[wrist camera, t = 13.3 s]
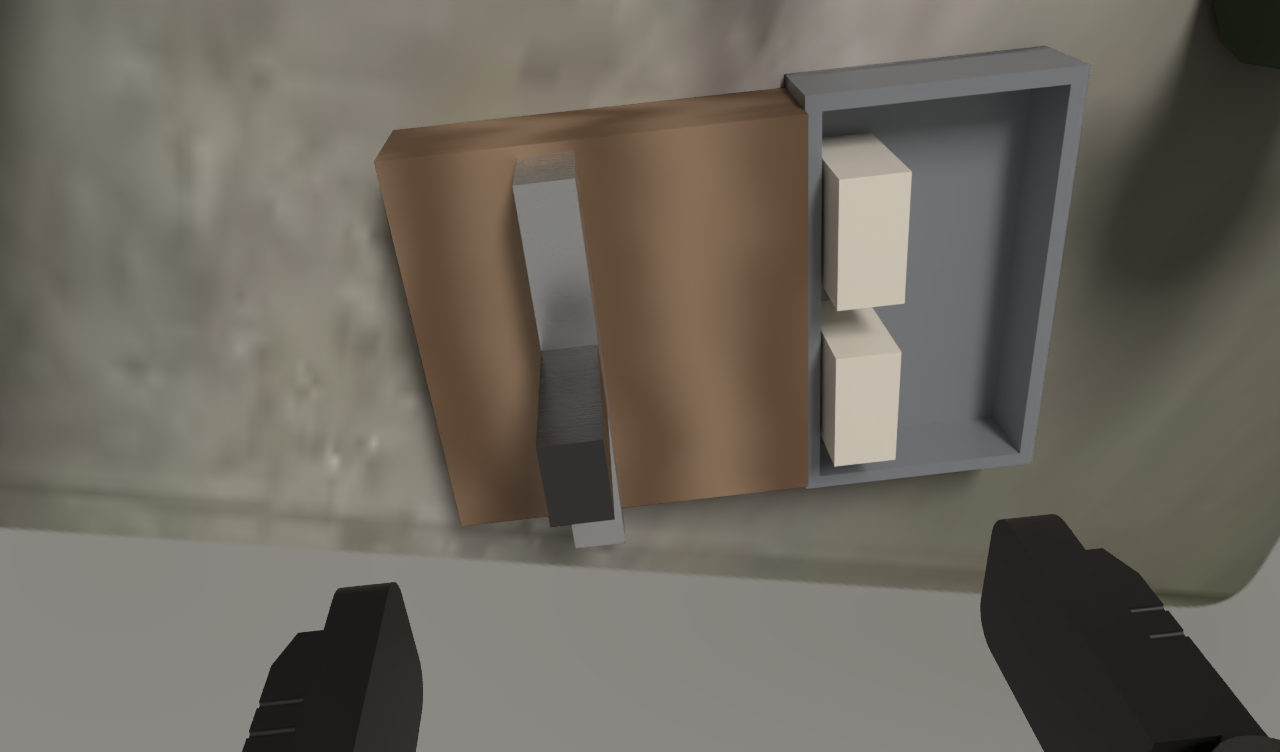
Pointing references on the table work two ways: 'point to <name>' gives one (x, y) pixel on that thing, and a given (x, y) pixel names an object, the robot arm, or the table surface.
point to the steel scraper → (568, 355)
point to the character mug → (1251, 30)
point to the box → (957, 245)
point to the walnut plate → (618, 293)
